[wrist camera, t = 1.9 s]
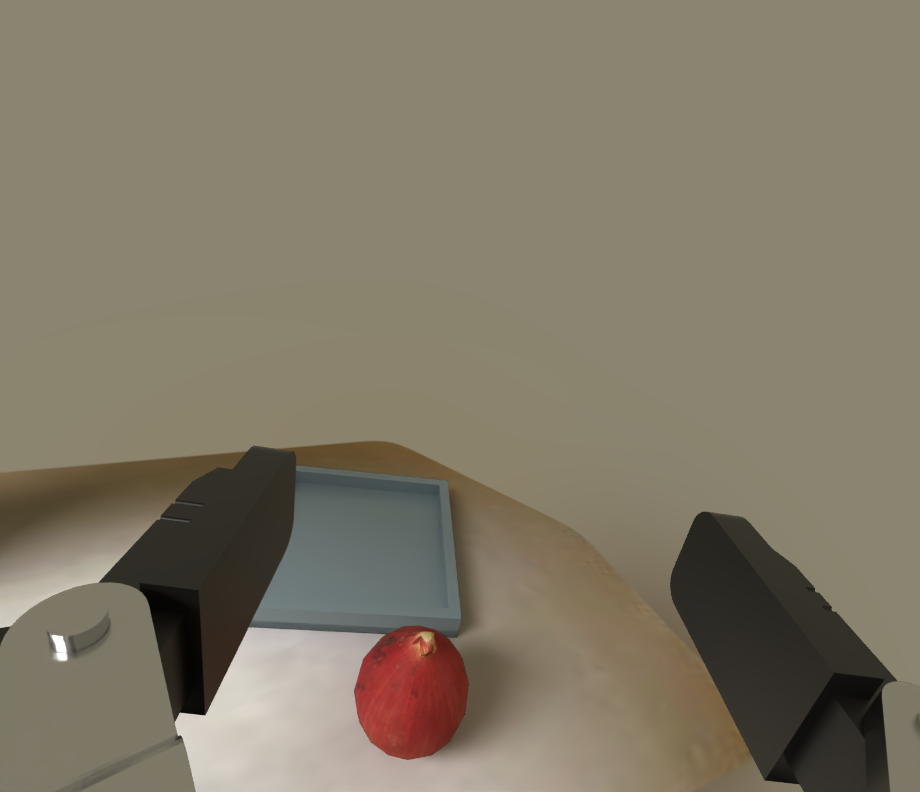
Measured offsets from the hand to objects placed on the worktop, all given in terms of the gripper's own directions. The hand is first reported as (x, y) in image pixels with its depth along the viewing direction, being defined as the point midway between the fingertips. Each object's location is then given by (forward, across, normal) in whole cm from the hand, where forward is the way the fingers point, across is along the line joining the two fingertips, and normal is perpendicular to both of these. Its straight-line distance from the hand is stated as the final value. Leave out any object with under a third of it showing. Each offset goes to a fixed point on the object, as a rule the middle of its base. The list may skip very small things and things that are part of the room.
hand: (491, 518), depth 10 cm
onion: (+10, 0, +22) cm, 24 cm away
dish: (+23, +6, +21) cm, 32 cm away
